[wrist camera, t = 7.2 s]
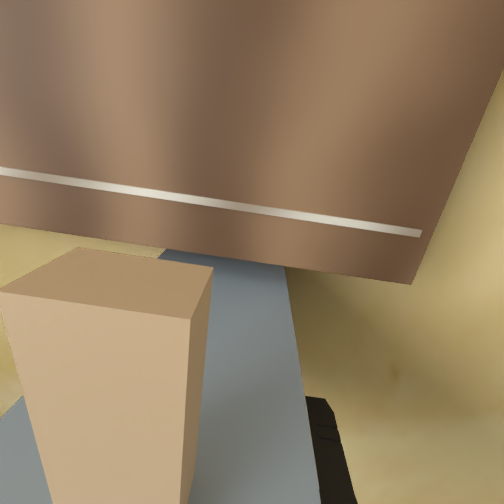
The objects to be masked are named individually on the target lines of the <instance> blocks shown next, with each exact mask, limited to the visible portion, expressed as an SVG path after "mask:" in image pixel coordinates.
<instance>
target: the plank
mask: <svg viewBox="0 0 504 504" xmlns="http://www.w3.org/2000/svg"><path fill="white" fill-rule="evenodd" d="M503 68H504V0H0V224H4V225H11V226H18V227H25V228H31V229H38V230H45V231H51V232H58V233H65V234H72V235H78V236H85V237H92V238H99V239H105V240H112V241H119V242H126V243H132V244H139V245H146V246H153V247H159V248H166V249H173V250H180V251H186V252H193V253H200V254H206V255H213V256H220V257H227V258H233V259H240V260H247V261H254V262H260V263H267V264H274V265H281V266H287V267H294V268H301V269H308V270H314V271H321V272H328V273H335V274H341V275H348V276H355V277H362V278H368V279H375V280H382V281H388V282H395V283H402V284H409V285H411V284H412V282H413V280H414V277H415V275H416V272H417V270H418V268H419V265H420V263H421V261H422V258H423V256H424V254H425V251H426V249H427V247H428V244H429V242H430V240H431V237H432V235H433V232H434V230H435V228H436V225H437V223H438V221H439V218H440V216H441V214H442V211H443V209H444V207H445V204H446V202H447V200H448V197H449V195H450V192H451V190H452V188H453V185H454V183H455V181H456V178H457V176H458V174H459V171H460V169H461V167H462V164H463V162H464V159H465V157H466V155H467V152H468V150H469V148H470V145H471V143H472V141H473V138H474V136H475V134H476V131H477V129H478V127H479V124H480V122H481V119H482V117H483V115H484V112H485V110H486V108H487V105H488V103H489V101H490V98H491V96H492V94H493V91H494V89H495V87H496V84H497V82H498V79H499V77H500V75H501V72H502V70H503Z"/></svg>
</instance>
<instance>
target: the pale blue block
mask: <svg viewBox="0 0 504 504" xmlns="http://www.w3.org/2000/svg"><path fill="white" fill-rule="evenodd" d="M0 311H1V314H2V318H3V322H4V325H5V329H6V333H7V337H8V340H9V344H10V348H11V351H12V355H13V359H14V362H15V366H16V370H17V373H18V377H19V381H20V384H21V388H22V392H23V396H22V397H21V398H20V399H19V400H18V401H17V402H16V403H15V404H14V405H13V406H12V407H11V408H10V409H9V410H8V411H7V412H6V413H5V414H4V415H3V416H2V417H1V418H0V504H321V500H320V494H319V487H318V481H317V474H316V468H315V461H314V455H313V448H312V442H311V436H310V429H309V423H308V416H307V410H306V403H305V397H304V390H303V384H302V377H301V371H300V364H299V358H298V351H297V345H296V338H295V332H294V326H293V319H292V313H291V306H290V300H289V293H288V287H287V280H286V274H285V267H284V266H281V265H274V264H267V263H260V262H254V261H247V260H240V259H233V258H227V257H220V256H213V255H206V254H200V253H193V252H186V251H180V250H173V249H166V250H165V251H164V252H163V253H162V254H161V255H160V256H159V257H158V258H157V259H154V258H148V257H141V256H134V255H127V254H120V253H114V252H107V251H100V250H93V249H87V248H80V247H77V248H75V249H74V250H72V251H70V252H68V253H66V254H64V255H62V256H60V257H58V258H57V259H55V260H53V261H51V262H49V263H47V264H45V265H43V266H41V267H40V268H38V269H36V270H34V271H32V272H30V273H28V274H26V275H24V276H23V277H21V278H19V279H17V280H15V281H13V282H11V283H9V284H7V285H6V286H4V287H2V288H0Z"/></svg>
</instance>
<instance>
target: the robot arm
mask: <svg viewBox="0 0 504 504" xmlns="http://www.w3.org/2000/svg"><path fill="white" fill-rule="evenodd" d="M293 326H294V323H293ZM294 332H295V329H294ZM295 338H296V335H295ZM296 345H297V342H296ZM297 351H298V348H297ZM298 358H299V354H298ZM299 364H300V361H299ZM300 371H301V367H300ZM301 377H302V374H301ZM302 384H303V380H302ZM303 390H304V387H303ZM304 397H305V403H306V410H307V416H308V423H309V429H310V436H311V442H312V448H313V455H314V461H315V468H316V474H317V481H318V487H319V494H320V500H321V504H358V503H357V500H356V497H355V494H354V490H353V487H352V483H351V479H350V475H349V471H348V467H347V463H346V459H345V455H344V451H343V447H342V444H341V439H340V435H339V432H338V430H337V424H336V420H335V416H334V412H333V411H332V409H331V407H330V406H329V404H328V403H327V401H326V400H325V399H323V398H316V397H309V396H305V393H304Z"/></svg>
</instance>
